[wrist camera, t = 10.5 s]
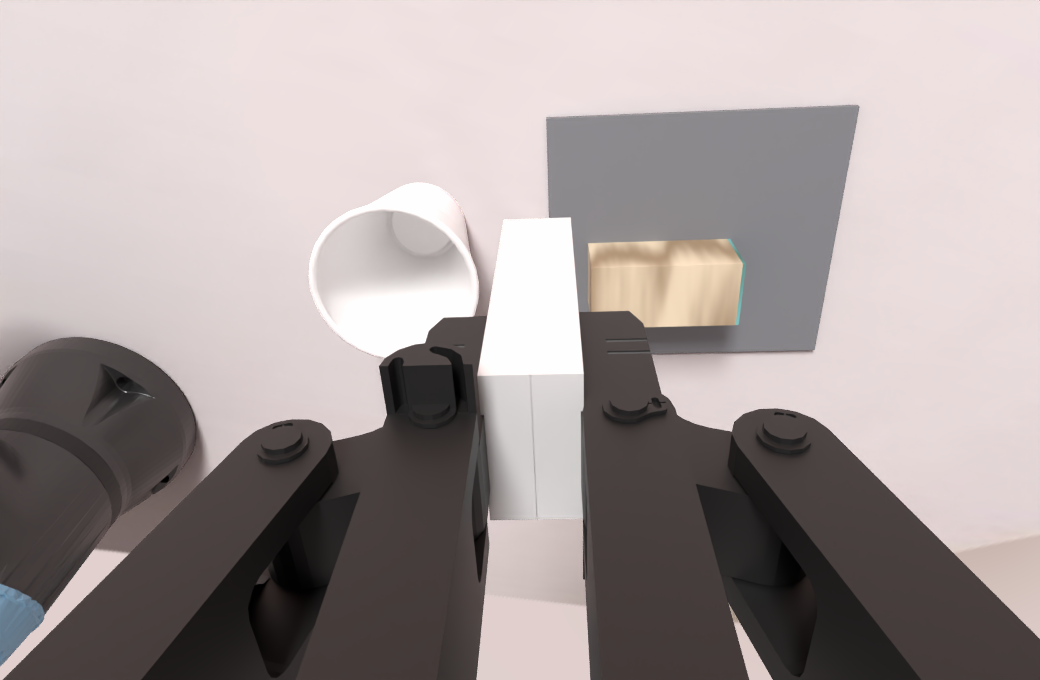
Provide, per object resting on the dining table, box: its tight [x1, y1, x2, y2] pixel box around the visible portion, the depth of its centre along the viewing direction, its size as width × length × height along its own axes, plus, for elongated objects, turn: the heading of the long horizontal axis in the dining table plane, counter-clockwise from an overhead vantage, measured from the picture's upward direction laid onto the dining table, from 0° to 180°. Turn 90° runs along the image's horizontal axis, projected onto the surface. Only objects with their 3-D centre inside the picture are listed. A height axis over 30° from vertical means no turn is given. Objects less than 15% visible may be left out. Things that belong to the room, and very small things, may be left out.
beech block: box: [588, 239, 746, 327], centre depth 48 cm, size 4×4×10 cm
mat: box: [546, 105, 859, 354], centre depth 49 cm, size 20×18×1 cm
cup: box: [308, 183, 479, 358], centre depth 45 cm, size 10×10×11 cm
